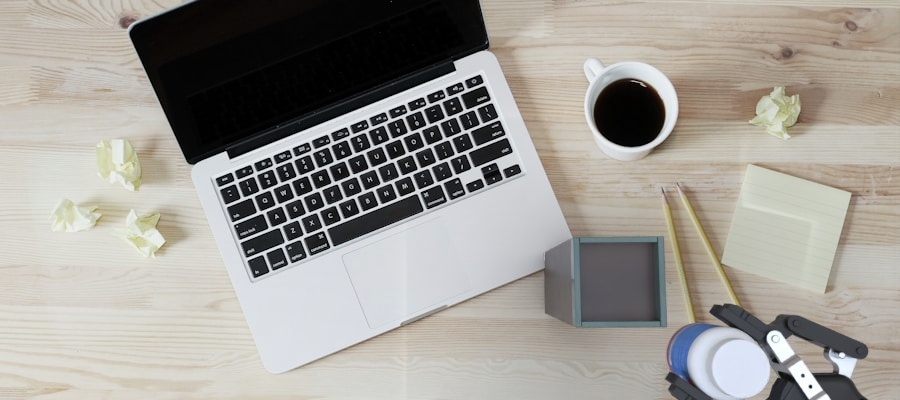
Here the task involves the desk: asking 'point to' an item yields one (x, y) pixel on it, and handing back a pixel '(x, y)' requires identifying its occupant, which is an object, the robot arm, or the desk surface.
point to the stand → (601, 282)
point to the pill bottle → (718, 361)
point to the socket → (658, 282)
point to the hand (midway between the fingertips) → (692, 343)
